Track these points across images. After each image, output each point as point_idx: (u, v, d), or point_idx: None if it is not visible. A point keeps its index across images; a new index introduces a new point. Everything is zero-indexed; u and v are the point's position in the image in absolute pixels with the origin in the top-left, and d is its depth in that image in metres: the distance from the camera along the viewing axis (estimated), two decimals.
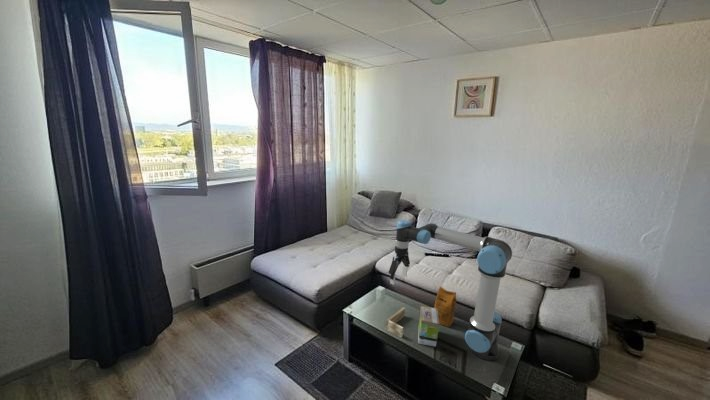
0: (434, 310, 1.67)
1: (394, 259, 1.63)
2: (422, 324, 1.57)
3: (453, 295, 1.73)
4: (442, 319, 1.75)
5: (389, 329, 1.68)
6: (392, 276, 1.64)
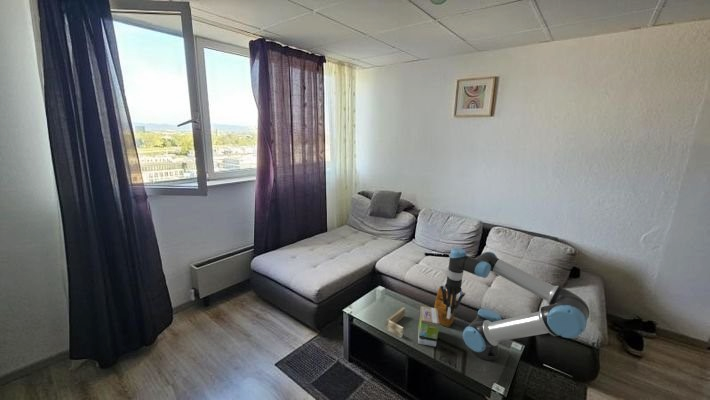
0: (434, 310, 1.67)
1: None
2: (422, 324, 1.57)
3: None
4: (442, 319, 1.75)
5: (389, 329, 1.68)
6: (446, 307, 1.55)
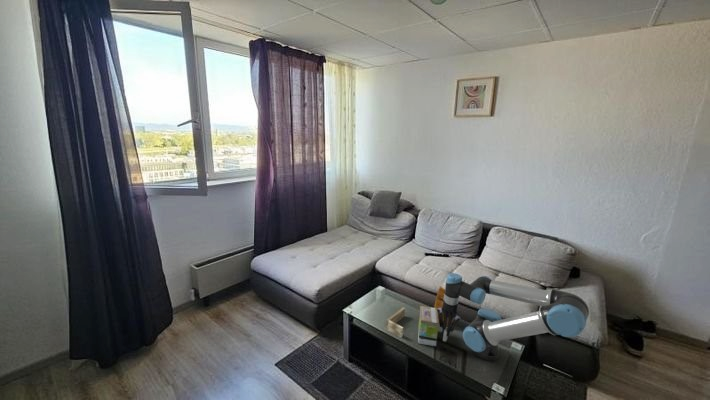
0: (434, 309, 1.67)
1: None
2: (421, 324, 1.57)
3: None
4: None
5: (389, 329, 1.68)
6: (442, 330, 1.58)
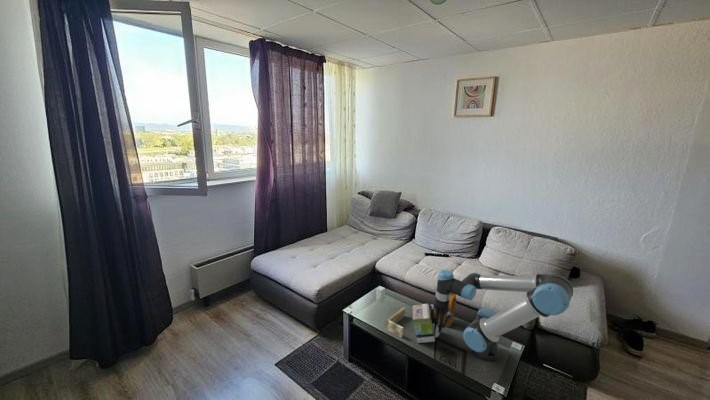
0: (425, 305, 1.67)
1: None
2: (414, 323, 1.57)
3: (453, 295, 1.73)
4: None
5: (389, 329, 1.68)
6: (434, 326, 1.61)
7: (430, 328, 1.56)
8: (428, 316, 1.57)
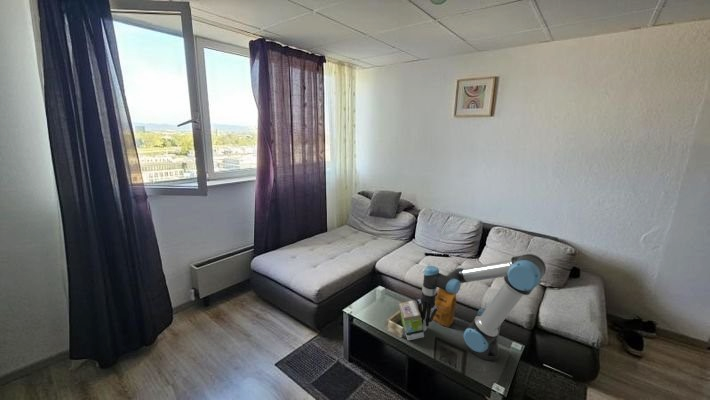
0: (412, 302, 1.70)
1: None
2: (405, 321, 1.58)
3: (453, 295, 1.73)
4: (442, 319, 1.75)
5: (389, 329, 1.68)
6: None
7: (420, 324, 1.59)
8: (418, 313, 1.59)
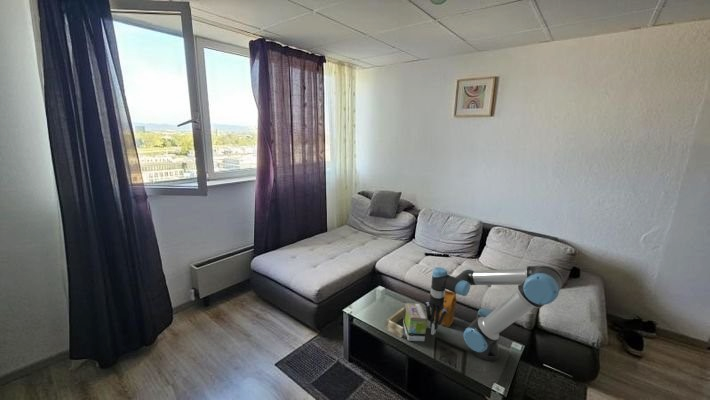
0: (419, 305, 1.70)
1: None
2: (411, 321, 1.58)
3: (453, 295, 1.73)
4: None
5: (389, 329, 1.68)
6: (430, 323, 1.62)
7: (424, 328, 1.60)
8: (425, 316, 1.60)
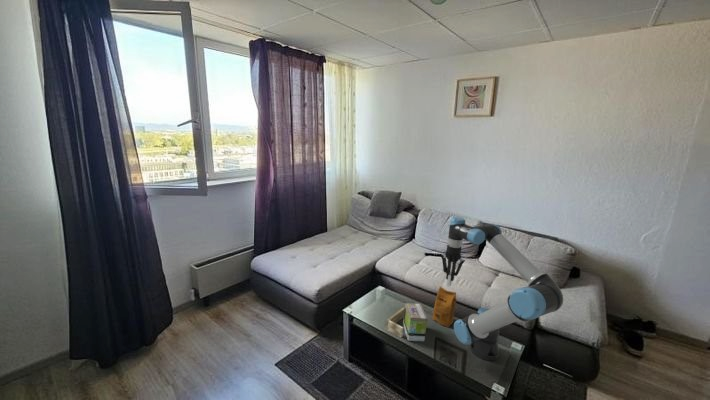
0: (419, 305, 1.70)
1: None
2: (411, 321, 1.58)
3: (453, 295, 1.73)
4: (442, 319, 1.75)
5: (389, 329, 1.68)
6: (446, 275, 1.60)
7: (424, 328, 1.60)
8: (425, 316, 1.60)
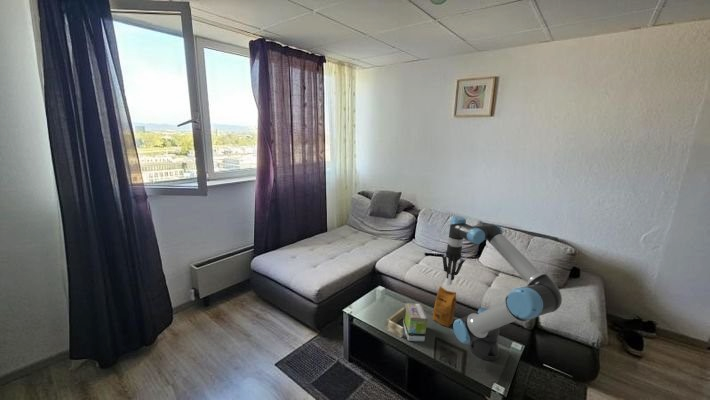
0: (419, 305, 1.70)
1: None
2: (411, 321, 1.58)
3: (453, 295, 1.73)
4: (442, 319, 1.75)
5: (389, 329, 1.68)
6: None
7: (424, 328, 1.60)
8: (425, 316, 1.60)
